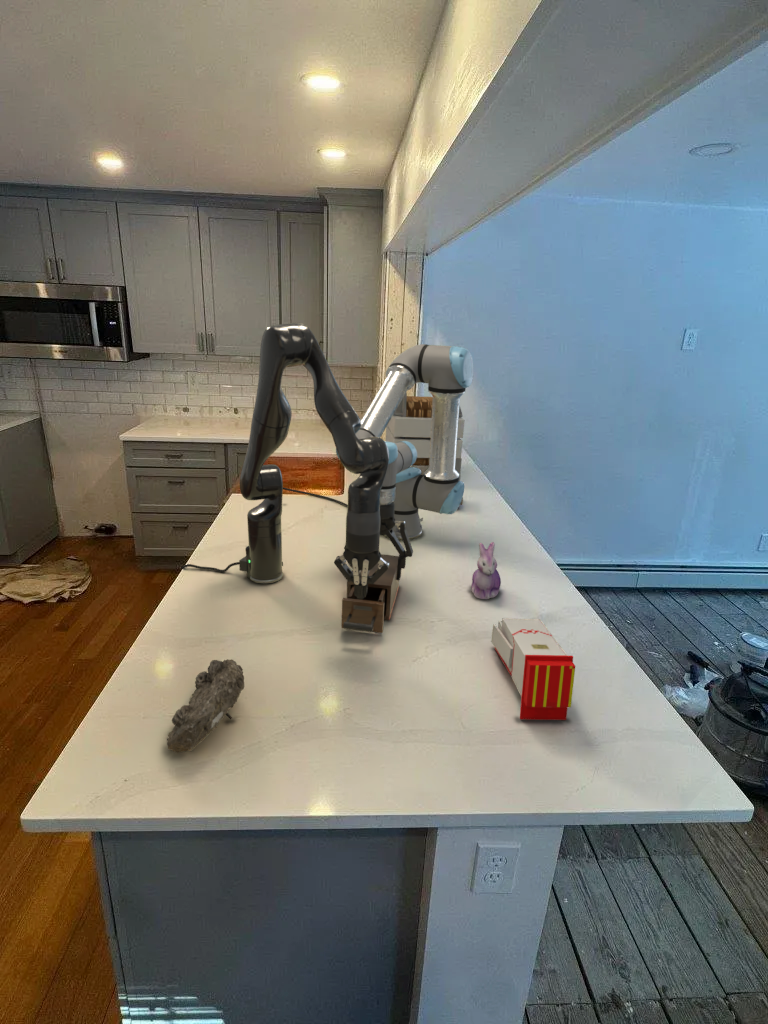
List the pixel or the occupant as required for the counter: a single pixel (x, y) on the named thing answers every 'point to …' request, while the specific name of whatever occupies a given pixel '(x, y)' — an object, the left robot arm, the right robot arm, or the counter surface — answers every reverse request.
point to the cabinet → (384, 582)
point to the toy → (535, 667)
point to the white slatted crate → (419, 428)
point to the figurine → (486, 574)
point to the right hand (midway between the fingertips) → (377, 575)
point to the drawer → (365, 610)
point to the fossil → (206, 705)
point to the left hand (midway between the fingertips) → (360, 597)
